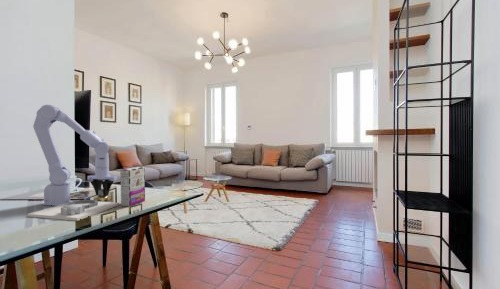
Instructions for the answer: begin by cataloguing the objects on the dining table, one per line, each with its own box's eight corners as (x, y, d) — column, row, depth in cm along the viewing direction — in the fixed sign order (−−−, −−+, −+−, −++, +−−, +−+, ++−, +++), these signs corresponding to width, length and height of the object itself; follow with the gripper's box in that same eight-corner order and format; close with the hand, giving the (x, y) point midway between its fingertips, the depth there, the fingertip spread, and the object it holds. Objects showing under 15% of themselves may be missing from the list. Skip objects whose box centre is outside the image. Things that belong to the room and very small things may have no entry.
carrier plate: (27, 216, 96) (27, 207, 96) (77, 202, 118) (77, 194, 117) (77, 220, 92) (77, 211, 92) (119, 205, 113) (119, 197, 113)
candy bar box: (136, 200, 123) (136, 166, 122) (145, 200, 122) (145, 166, 121) (119, 206, 112) (119, 169, 111) (129, 206, 111) (129, 169, 110)
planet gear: (89, 201, 119) (89, 190, 119) (101, 197, 126) (101, 187, 126) (103, 202, 118) (103, 191, 118) (114, 198, 125) (114, 188, 125)
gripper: (121, 166, 124) (121, 194, 124) (95, 165, 127) (95, 192, 127) (110, 168, 117) (110, 197, 118) (83, 167, 120) (84, 195, 120)
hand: (102, 195), depth 122 cm, fingers closed on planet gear, 4 cm apart
